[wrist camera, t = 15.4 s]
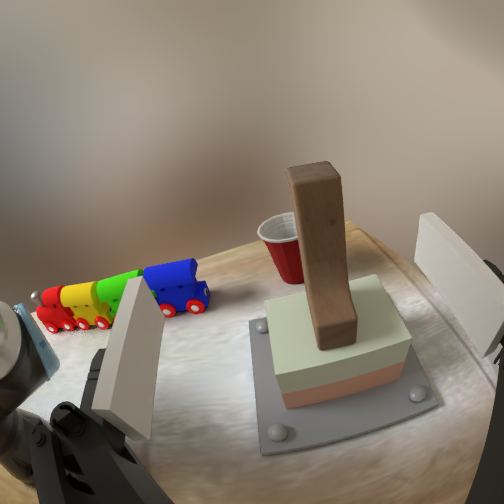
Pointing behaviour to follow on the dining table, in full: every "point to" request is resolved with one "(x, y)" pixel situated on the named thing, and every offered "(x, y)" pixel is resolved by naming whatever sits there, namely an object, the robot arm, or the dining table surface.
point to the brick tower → (333, 373)
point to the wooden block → (323, 252)
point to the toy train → (110, 293)
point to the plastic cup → (283, 246)
